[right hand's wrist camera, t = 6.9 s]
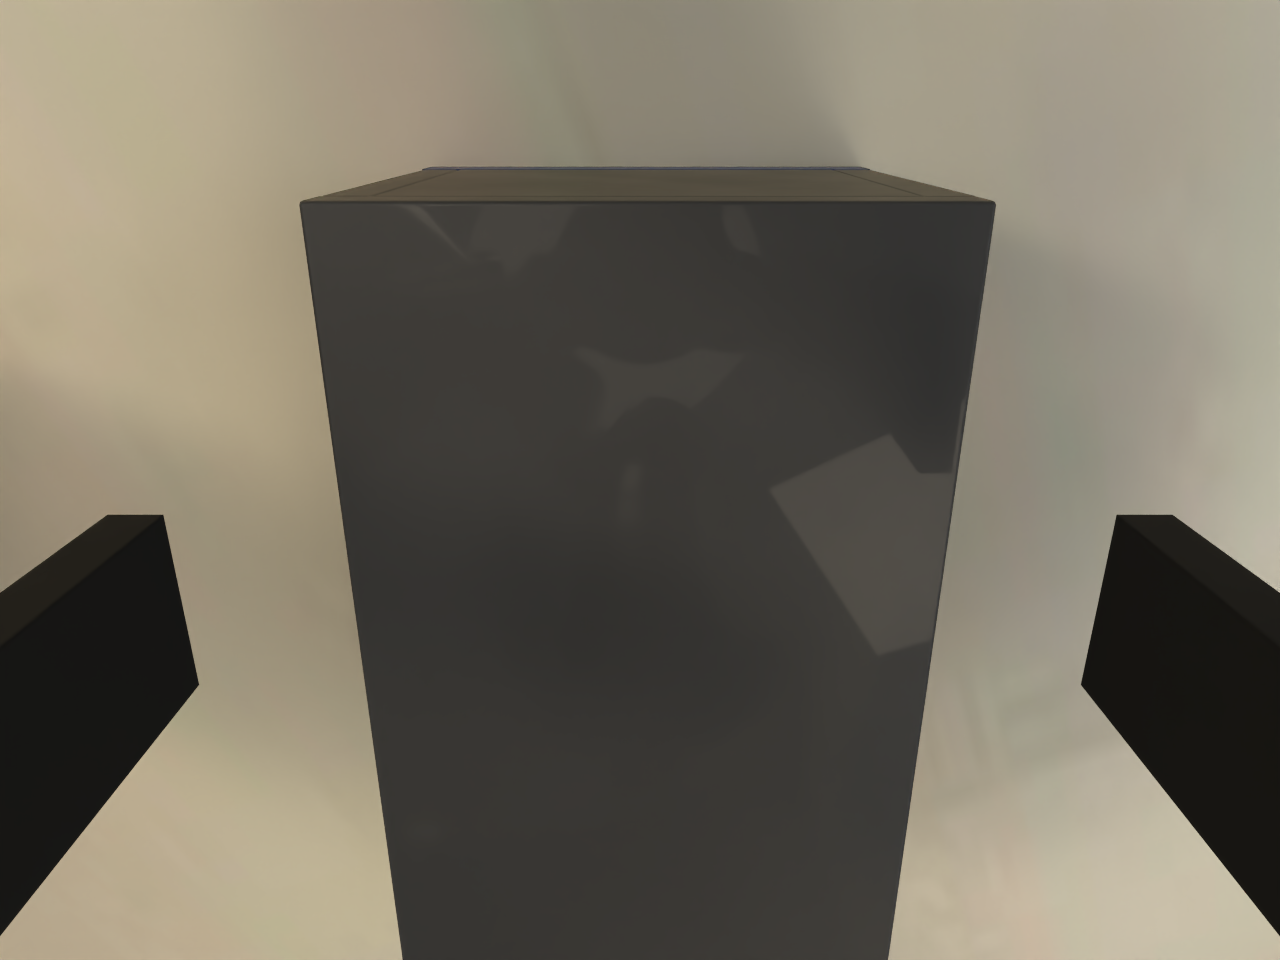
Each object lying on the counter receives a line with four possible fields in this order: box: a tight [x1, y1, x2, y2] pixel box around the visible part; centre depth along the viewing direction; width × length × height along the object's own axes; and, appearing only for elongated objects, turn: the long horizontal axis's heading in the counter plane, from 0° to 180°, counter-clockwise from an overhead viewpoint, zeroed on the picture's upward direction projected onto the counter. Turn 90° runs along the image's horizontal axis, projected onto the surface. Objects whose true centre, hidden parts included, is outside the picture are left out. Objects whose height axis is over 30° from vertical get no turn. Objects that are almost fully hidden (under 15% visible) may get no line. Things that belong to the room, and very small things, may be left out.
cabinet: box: [300, 167, 996, 960], centre depth 22 cm, size 18×11×10 cm, turn 0°
